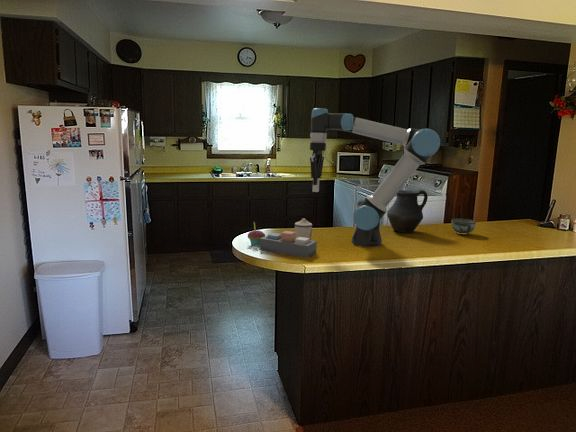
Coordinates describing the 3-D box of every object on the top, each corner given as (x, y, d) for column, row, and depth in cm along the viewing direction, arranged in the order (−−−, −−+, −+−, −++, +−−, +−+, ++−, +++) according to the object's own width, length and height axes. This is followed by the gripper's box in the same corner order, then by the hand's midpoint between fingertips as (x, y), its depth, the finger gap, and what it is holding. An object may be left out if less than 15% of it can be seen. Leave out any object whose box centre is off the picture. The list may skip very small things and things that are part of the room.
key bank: (316, 252, 202) (316, 241, 201) (307, 258, 193) (308, 245, 192) (270, 245, 212) (270, 234, 211) (259, 249, 203) (260, 238, 202)
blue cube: (281, 244, 206) (282, 234, 205) (276, 246, 202) (277, 236, 201) (272, 243, 208) (272, 232, 207) (267, 245, 204) (267, 234, 203)
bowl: (453, 230, 264) (455, 217, 262) (477, 234, 256) (478, 220, 255) (447, 234, 253) (448, 220, 251) (471, 237, 245) (473, 223, 244)
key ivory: (309, 248, 200) (309, 238, 199) (304, 251, 196) (305, 240, 195) (299, 247, 202) (299, 236, 201) (294, 249, 198) (295, 239, 197)
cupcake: (258, 248, 206) (258, 223, 204) (243, 245, 210) (244, 220, 208) (268, 244, 213) (269, 220, 211) (254, 241, 218) (255, 218, 215)
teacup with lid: (313, 243, 219) (314, 220, 217) (295, 243, 217) (296, 220, 215) (308, 237, 231) (309, 215, 229) (291, 237, 229) (292, 215, 227)
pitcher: (384, 226, 267) (387, 185, 262) (421, 228, 264) (425, 187, 260) (387, 233, 247) (390, 189, 242) (426, 236, 244) (431, 192, 240)
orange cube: (295, 242, 203) (295, 232, 202) (290, 244, 198) (291, 234, 197) (285, 241, 205) (286, 230, 204) (280, 243, 200) (281, 232, 200)
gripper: (315, 141, 214) (313, 189, 219) (305, 141, 203) (303, 192, 207) (330, 142, 211) (327, 191, 216) (320, 142, 200) (317, 193, 204)
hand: (315, 191), depth 211 cm, fingers closed
